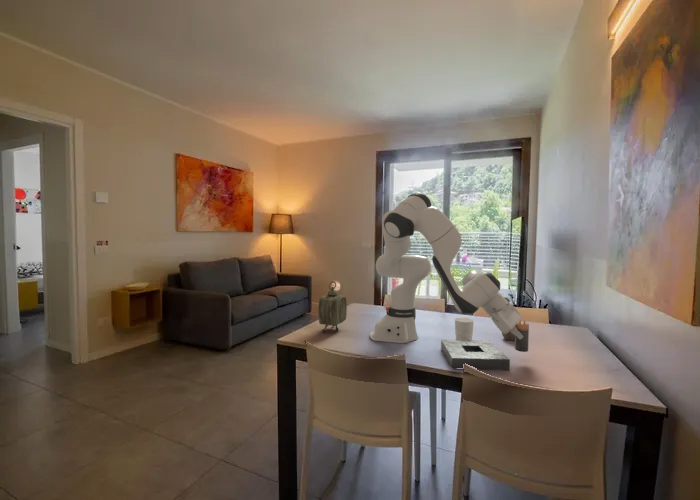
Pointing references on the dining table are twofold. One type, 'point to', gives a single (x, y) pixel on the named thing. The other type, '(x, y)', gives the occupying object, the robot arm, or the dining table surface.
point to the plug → (523, 343)
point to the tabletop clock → (332, 308)
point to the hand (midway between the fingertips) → (523, 335)
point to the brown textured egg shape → (509, 336)
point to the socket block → (474, 354)
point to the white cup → (463, 328)
